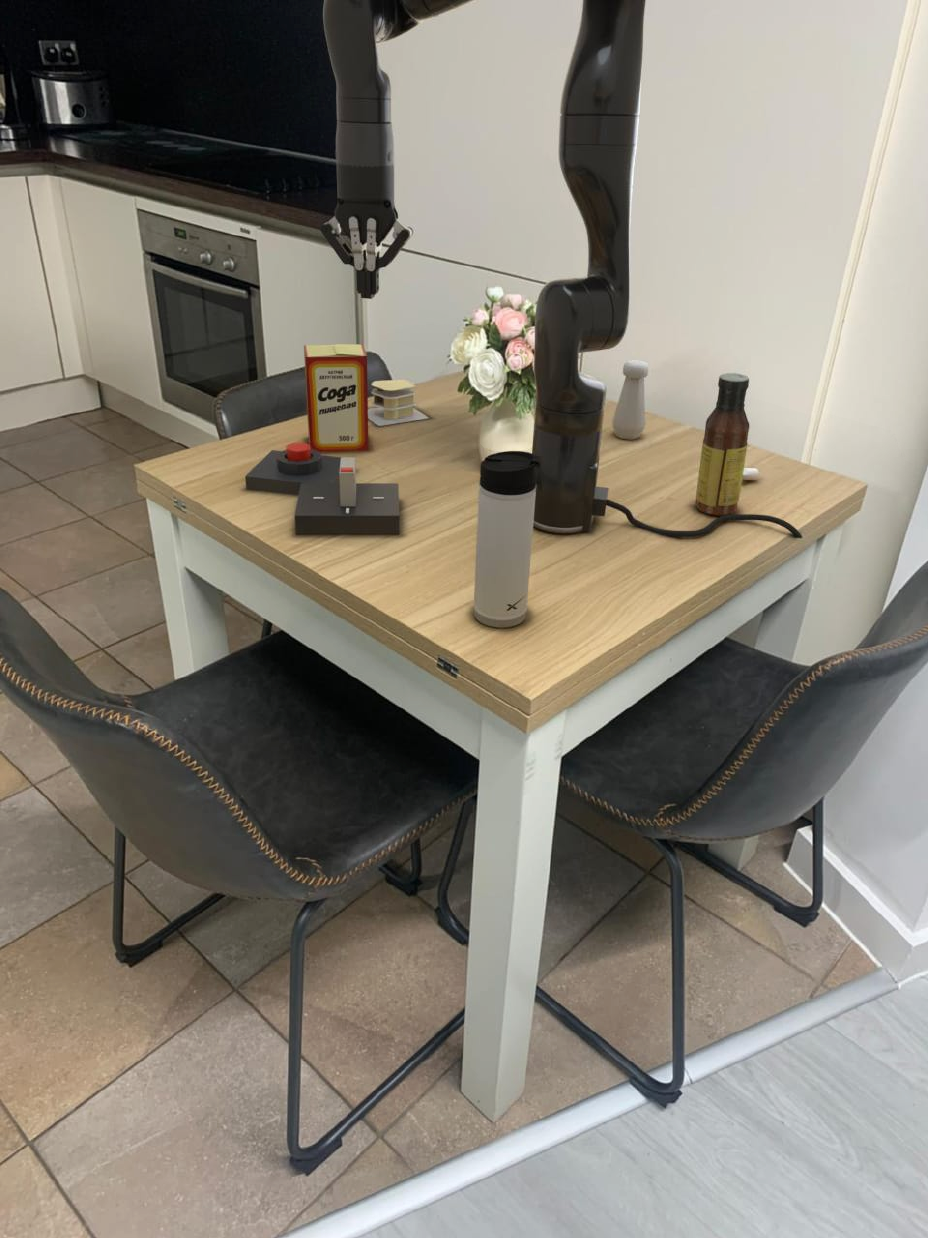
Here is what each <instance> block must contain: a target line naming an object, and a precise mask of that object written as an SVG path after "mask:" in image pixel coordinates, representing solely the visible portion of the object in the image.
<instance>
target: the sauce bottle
mask: <svg viewBox="0 0 928 1238" xmlns="http://www.w3.org/2000/svg"><path fill="white" fill-rule="evenodd" d="M717 384H718V385H717V386H718V394H717V401H716V403H715V408H714V409H713V410H712V412H711V413H710V414H709V415H708V417H707V418H706V420H705V427H704V434H703V439H702V445H701V453H700V460H699V461H700V462H699V468H698V477H697V484H696V490H695V491H696V492H695V506H696V508H697V509H698V510H699V511H700V512H701V513H704V514H708V515H711V516H715V517H721V516H725V515H732V514H735V512H736V511H737V508H738V504H739V503H738V502H739V501H740V498H741V497H740V496H741V491H742V490H741V489H742V482H743V480H742V477H743V471H744V466H745V464H746V456H747V450H748V439H749V438H748V437H749V432H750V422H749V419H748V417H747V413H746V410H745V407H746V405H745V401H746V395H747V390H748V389H749V386H750V385H749V384H750V377H749V376H747V375H746V374H741V373H736V372H727V373H722V374H720V375H719V377H718V383H717Z"/></svg>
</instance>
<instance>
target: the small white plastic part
mask: <svg viewBox="0 0 928 1238" xmlns="http://www.w3.org/2000/svg"><path fill="white" fill-rule="evenodd" d="M759 477H760V472H759V470H758V469H757V468H754V467H745V465H744V471H743V477H742V481H743V480H744V481H756V480H757V479H759Z"/></svg>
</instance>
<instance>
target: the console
mask: <svg viewBox="0 0 928 1238" xmlns="http://www.w3.org/2000/svg"><path fill="white" fill-rule="evenodd" d="M399 488H400V487H399V483H398V482H397V483H395V482H394V483H393V482H392V483H390V482H389V483H388V482H387V483H385V482H384V483H382V482H381V483H378V482H374V483H373V482H371V483H370V482H367V483H366V482H365V483H364V482H362V483H361V482H360V483H359V482H356V502H355V506H341V504H340V483H301V485H300V490H299V495H297V502H296V507H295V511H294V527H295V536H400V492H399V491H400V489H399Z"/></svg>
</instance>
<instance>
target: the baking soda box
mask: <svg viewBox="0 0 928 1238" xmlns="http://www.w3.org/2000/svg"><path fill="white" fill-rule="evenodd" d="M303 354H304V355H303V356H304V375H305V376H304V377H305V392H306V393H305V395H306V396H305V397H306V412H307V414H306V415H307V432H308V433H307V434H308V444H309V445H310V446H311V449H313V450H316V451H318V452H319V453H324V452H325V453H326V452H356V451H358V452H359V451H369V450H370V449H369V448H370V447H369V419H368V409H369V399H368V397H369V391H368V388H369V387H368V385H369V384H368V355H367V354H368V353H367V352H366V349H365V346H364V344H352V343H351V344H346V343H345V344H344V343H338V344H337V343H335V344H309V345H308V344H307V345H306V344H304V345H303Z"/></svg>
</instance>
